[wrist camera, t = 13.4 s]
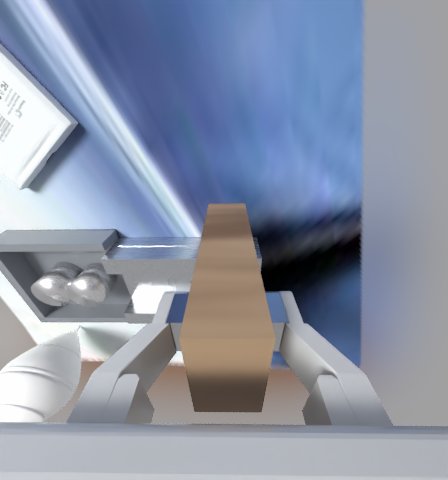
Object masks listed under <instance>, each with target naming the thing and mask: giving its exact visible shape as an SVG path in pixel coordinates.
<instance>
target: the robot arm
mask: <svg viewBox="0 0 448 480" xmlns="http://www.w3.org/2000/svg"><path fill="white" fill-rule="evenodd" d="M265 294H266V299H267V303H268V308H269V312H270V317H271V321H272V325H273V330H274V334H275V344H274V349H273V351H279V353H280V354H281V355H282V357H283V358H284V359H285V361H286V362H287V363H288V365H289V366H290V367H291V369H292V370H293V371H294V373H295V374H296V375H297V377H298V378H299V379H300V381H301V382H302V383H303V385H304V386H305V387H306V389H307V390H308V391H309V393H310V396H309V397H308V399H307V401H306V404H305V406H304V408H303V410H302V412H303V416H304V420H305V424H306V425H252V424H251V425H250V424H247V425H246V424H151V421H152V417H153V412H154V408H153V406H152V404H151V402H150V400H149V398H148V396H147V393H146V392H147V391H148V390H149V388H150V387H151V386H152V384H153V383H154V382H155V380H156V379H157V378H158V376H159V375H160V374H161V372H162V371H163V370H164V368H165V367H166V366H167V364H168V363H169V362H170V360H171V359H172V358H173V356H174V355H175V353H176V351H182V350H181V346H180V341H179V336H180V332H181V327H182V323H183V318H184V314H185V309H186V304H187V300H188V295H189V292H185V291H165V292H164V293H163V294H162V297H161V299H160V302H159V305H158V308H157V310H156V313H155V316H154V318H153V321H152V323H148V324H147V325H146V326H145V327H144V328H142V329H141V330H140V331H139V332H138V333H137V334H136V335H135V336H133V337H132V338H131V339H130V340H129V341H128V342H127V343H126V344H124V345H123V346H122V347H121V348H120V349H119V350H118V351H116V352H115V353H114V354H113V355H112V356H111V357H110V358H109V359H107V360H106V361H105V362H104V363H103V364H102V365H101V366H100V367H99V368H97V369H96V370H95V371H94V372H93V373H92V375H91V377H90V379H89V381H88V383H87V385H86V387H85V388H84V390H83V392H82V394H81V396H80V398H79V400H78V401H77V403H76V405H75V407H74V409H73V411H72V413H71V415H70V417H69V418H68V420H67V422H66V423H44V422H0V480H448V426H446V427H445V426H393V424H392V422H391V420H390V419H389V417H388V415H387V413H386V411H385V409H384V408H383V406H382V404H381V402H380V400H379V398H378V396H377V395H376V393H375V391H374V389H373V387H372V386H371V384H370V382H369V380H368V378H367V376H366V374H364V373H363V372H362V371H361V370H360V369H359V368H358V367H357V366H355V365H354V364H353V363H352V362H351V361H350V360H349V359H347V358H346V357H345V356H344V355H343V354H342V353H341V352H339V351H338V350H337V349H336V348H335V347H334V346H333V345H331V344H330V343H329V342H328V341H327V340H326V339H325V338H323V337H322V336H321V335H320V334H319V333H318V332H317V331H315V330H314V329H313V328H312V327H311V326H310V325H309V324H305V323H303V320H302V317H301V315H300V312H299V310H298V307H297V304H296V302H295V299H294V296H293V294H292V292H291V291H279V292H278V291H265Z"/></svg>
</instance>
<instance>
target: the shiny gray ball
mask: <svg viewBox="0 0 448 480" xmlns="http://www.w3.org/2000/svg"><path fill="white" fill-rule="evenodd" d="M82 271H83V270H82V269H81V268H80V267H78V266H77V265H75V264H72V263H69V262H59V263H57V264H56V265H54V266H53V267H52V268H51V269H50V270H49V271H48V272H46V273H45V274H44V275H43V276H42V277H41V278H40V279H38V280H37V281H36V282H35V283H34V284H33V285H32V286H31V292H32V294H33V295H34V296H35V297H36V298H37V299H38V300H40V301H42V302H44V303H46V304H49V305H52V306H63V305H65V304H67V303H68V302H69V300H70V298H69V296H68V295H67V292H66V290H67V287H68V286H69V285H70V284H71V283H72V282H73V280H74V279H75V278H76V277H77V276H78V275H79V274H80V273H81V272H82Z"/></svg>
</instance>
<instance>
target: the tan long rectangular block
mask: <svg viewBox="0 0 448 480" xmlns="http://www.w3.org/2000/svg"><path fill="white" fill-rule="evenodd" d="M179 341H180V346H181V350H182V355H183V360H184V364H185V369H186V373H187V378H188V383H189V388H190V392H191V397H192V402H193V406H194V411H195V412H261V411H262V407H263V401H264V396H265V391H266V386H267V381H268V375H269V370H270V365H271V360H272V354H273V349H274V344H275V334H274V330H273V325H272V321H271V317H270V312H269V308H268V303H267V299H266V294H265V290H264V286H263V281H262V277H261V272H260V268H259V263H258V259H257V255H256V250H255V246H254V241H253V237H252V233H251V228H250V224H249V219H248V215H247V210H246V206H245V203H229V204H209V205H208V209H207V214H206V219H205V223H204V228H203V232H202V237H201V241H200V246H199V250H198V255H197V259H196V264H195V268H194V273H193V277H192V282H191V286H190V291H189V295H188V300H187V304H186V309H185V314H184V318H183V323H182V327H181V332H180V336H179Z"/></svg>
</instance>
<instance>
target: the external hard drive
mask: <svg viewBox="0 0 448 480" xmlns="http://www.w3.org/2000/svg"><path fill="white" fill-rule="evenodd" d="M77 125H78V122H77V121H76V120H75V119H74V118H73V117H72V116H71V115H70V114H69V113H68V112H67V111H66V110H65V109H64V108H63V107H62V105H61V104H60V103H59V102H58V101H57V100H56V99H55V98H54V97H53V96H52V95H51V94H50V93H49V92H48V91H47V90H46V89H45V88H44V87H43V86H42V85H41V84H40V83H39V82H38V81H37V80H36V79H35V78H34V77H33V76H32V75H31V74H30V73H29V72H28V71H27V70H26V69H25V68H24V67H23V66H22V65H21V64H20V63H19V62H18V61H17V60H16V59H15V58H14V56H13V55H12V54H11V53H10V52H9V51H8V50H7V49H6V48H5V47H4V46H3V45H2V44H1V43H0V175H1V176H3V177H4V178H5V179H7V180H8V181H9V182H10V183H12V184H13V185H14V186H16V187H17V188H19V189H20V190H22V189H24V188H27V187H28V186H29V185H30V184H31V182H32V181H33V180H34V179H35V177H36V176H37V175H38V174H39V172H40V171H41V170H42V169H43V167H44V166H45V165H46V161H47V160H48V158H49V157H50V156H51V155H52V154H53V153H54V152H56V151H57V150H58V148H59V147H60V146H61V145H62V143H63V142H64V141H65V140H66V138H67V137H68V136H69V135H70V133H71V132H72V131H73V130H74V128H75V127H76V126H77Z"/></svg>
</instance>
